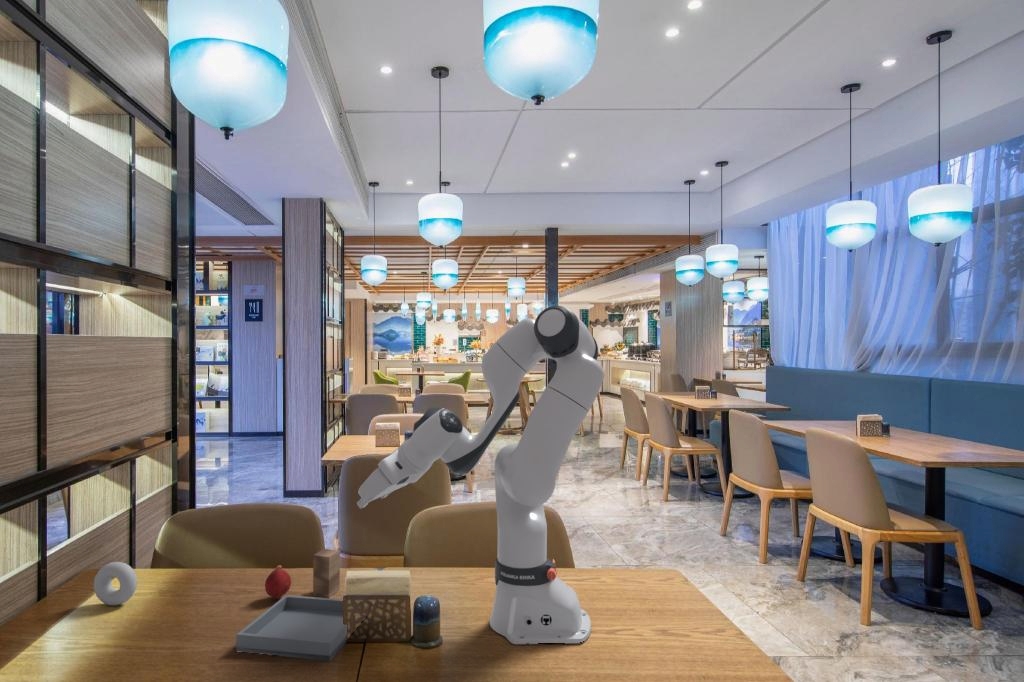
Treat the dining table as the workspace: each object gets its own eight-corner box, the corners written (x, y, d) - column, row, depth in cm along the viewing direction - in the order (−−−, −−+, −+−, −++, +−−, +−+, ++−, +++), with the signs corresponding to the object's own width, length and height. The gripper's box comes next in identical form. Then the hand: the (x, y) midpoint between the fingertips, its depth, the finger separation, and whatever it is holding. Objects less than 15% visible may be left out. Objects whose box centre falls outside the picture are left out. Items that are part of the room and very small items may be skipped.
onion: (272, 606, 130) (273, 572, 130) (260, 599, 133) (260, 566, 134) (295, 598, 135) (295, 565, 135) (282, 591, 138) (283, 559, 138)
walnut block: (339, 590, 139) (339, 550, 139) (328, 598, 135) (329, 557, 135) (324, 588, 140) (324, 548, 140) (312, 595, 136) (313, 555, 136)
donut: (140, 602, 132) (141, 560, 132) (129, 609, 128) (130, 565, 128) (101, 600, 132) (102, 558, 133) (89, 607, 129) (90, 564, 129)
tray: (367, 616, 125) (367, 601, 126) (330, 661, 108) (330, 643, 108) (285, 610, 128) (285, 594, 128) (236, 652, 111) (236, 634, 111)
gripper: (419, 447, 143) (385, 481, 145) (377, 461, 123) (338, 500, 126) (435, 465, 141) (399, 500, 144) (394, 483, 122) (354, 522, 124)
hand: (370, 500), depth 135 cm, fingers open, 8 cm apart
